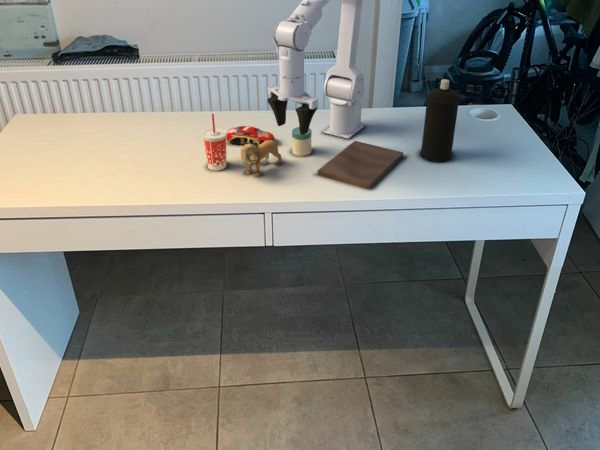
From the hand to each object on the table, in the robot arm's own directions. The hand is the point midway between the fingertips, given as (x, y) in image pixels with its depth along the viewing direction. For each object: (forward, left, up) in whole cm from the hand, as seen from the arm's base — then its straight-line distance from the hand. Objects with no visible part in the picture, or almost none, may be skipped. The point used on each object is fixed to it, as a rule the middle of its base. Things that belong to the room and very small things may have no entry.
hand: (292, 129), depth 150 cm
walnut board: (-9, +15, -10) cm, 20 cm away
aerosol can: (-24, +29, -10) cm, 39 cm away
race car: (-6, -17, -10) cm, 21 cm away
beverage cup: (+10, -16, -10) cm, 22 cm away
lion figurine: (+6, -5, -10) cm, 13 cm away
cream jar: (-8, -2, -10) cm, 13 cm away
